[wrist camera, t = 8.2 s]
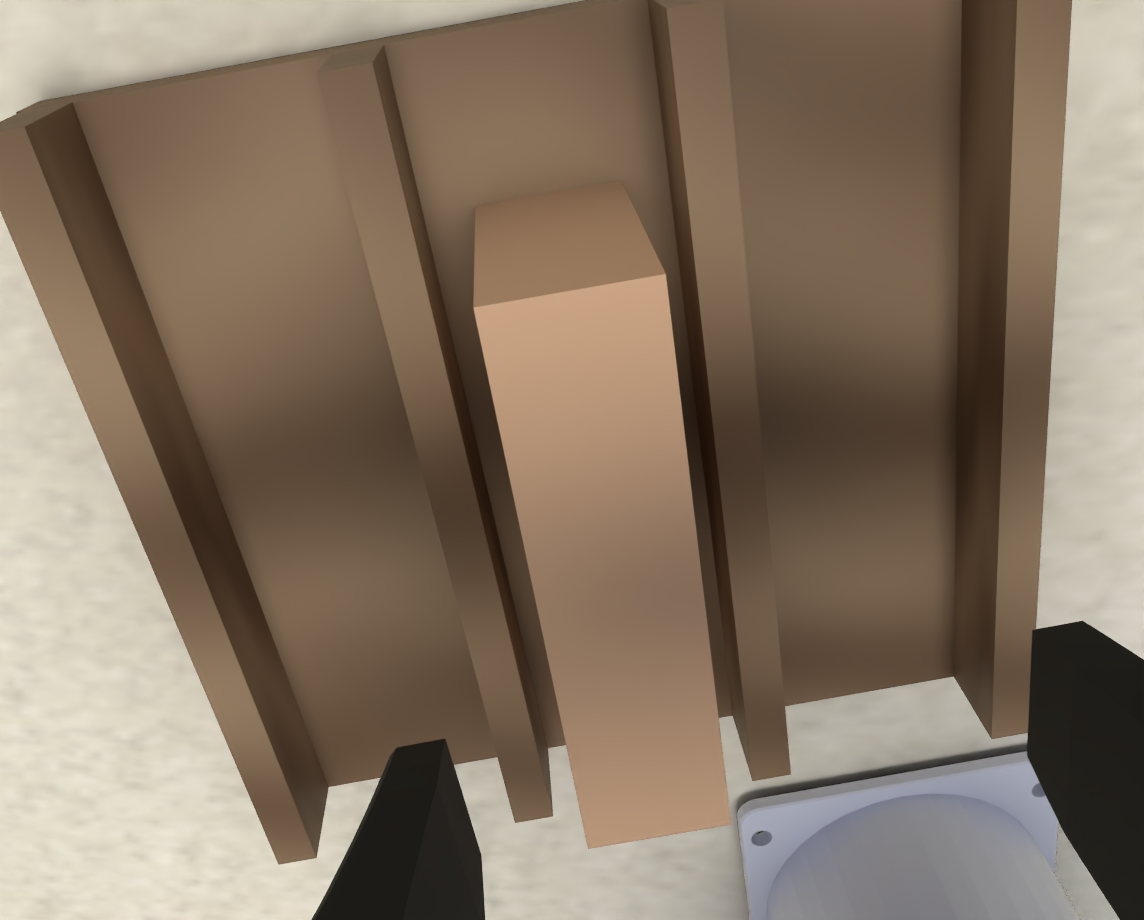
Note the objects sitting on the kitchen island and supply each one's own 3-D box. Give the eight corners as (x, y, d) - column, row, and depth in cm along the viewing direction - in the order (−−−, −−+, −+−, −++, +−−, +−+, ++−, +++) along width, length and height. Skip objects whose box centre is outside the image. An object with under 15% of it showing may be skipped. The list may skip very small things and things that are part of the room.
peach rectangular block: (682, 644, 23) (730, 824, 18) (567, 664, 23) (588, 849, 18) (621, 180, 18) (665, 273, 14) (475, 206, 18) (472, 307, 14)
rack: (975, 641, 25) (1034, 731, 22) (296, 761, 25) (273, 865, 22) (992, -75, 18) (1082, -69, 15) (39, 101, 18) (-39, 137, 15)
